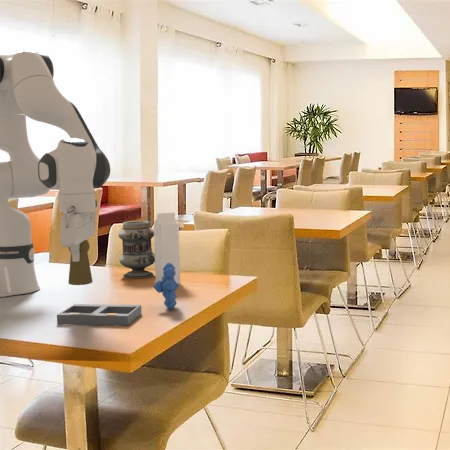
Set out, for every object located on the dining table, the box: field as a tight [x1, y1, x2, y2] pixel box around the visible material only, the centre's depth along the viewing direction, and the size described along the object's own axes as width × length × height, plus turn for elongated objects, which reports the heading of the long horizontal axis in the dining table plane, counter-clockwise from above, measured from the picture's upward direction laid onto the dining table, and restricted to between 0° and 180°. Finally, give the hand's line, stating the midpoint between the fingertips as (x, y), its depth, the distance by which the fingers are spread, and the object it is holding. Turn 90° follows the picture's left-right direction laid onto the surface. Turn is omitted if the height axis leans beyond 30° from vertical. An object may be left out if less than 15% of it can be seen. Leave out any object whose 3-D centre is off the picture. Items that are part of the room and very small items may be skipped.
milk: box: [153, 212, 181, 285], centre depth 233 cm, size 6×6×22 cm
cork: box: [67, 239, 93, 286], centre depth 188 cm, size 6×6×11 cm
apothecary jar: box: [117, 220, 155, 280], centre depth 247 cm, size 12×12×18 cm
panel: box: [56, 303, 143, 327], centre depth 189 cm, size 18×12×3 cm, turn 81°
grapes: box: [153, 263, 180, 310], centre depth 199 cm, size 12×7×12 cm, turn 5°
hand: (79, 259), depth 188 cm, fingers closed on cork, 4 cm apart
